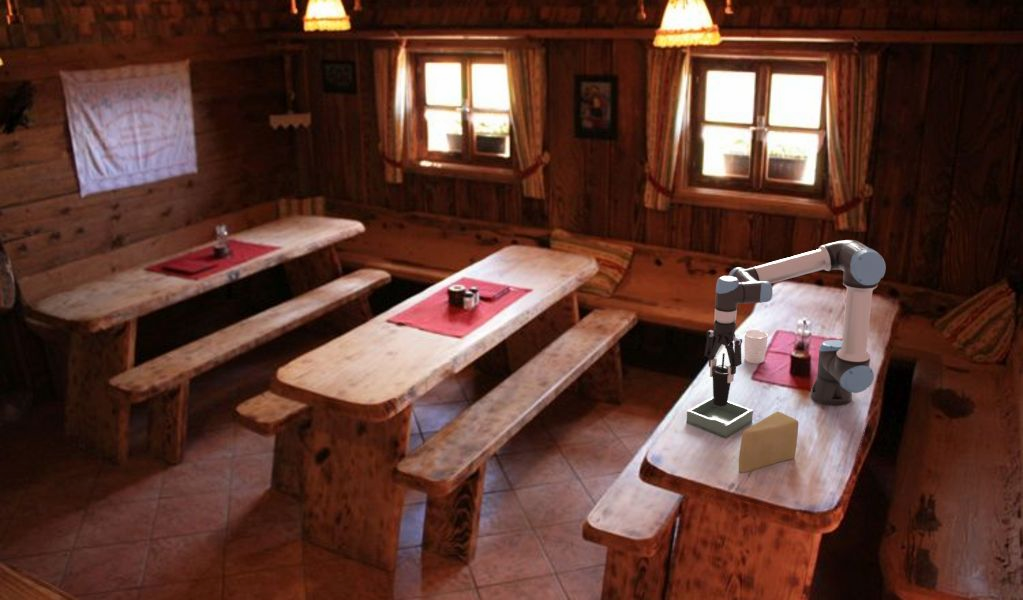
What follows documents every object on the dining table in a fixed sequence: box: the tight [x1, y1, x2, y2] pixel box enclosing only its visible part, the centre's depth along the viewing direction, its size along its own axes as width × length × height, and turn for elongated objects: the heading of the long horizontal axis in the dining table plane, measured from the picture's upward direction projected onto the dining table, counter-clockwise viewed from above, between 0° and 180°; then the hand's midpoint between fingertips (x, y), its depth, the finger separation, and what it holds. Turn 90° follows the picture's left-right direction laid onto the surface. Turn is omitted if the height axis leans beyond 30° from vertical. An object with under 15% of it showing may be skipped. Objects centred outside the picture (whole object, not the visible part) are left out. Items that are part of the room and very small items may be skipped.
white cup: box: [744, 329, 769, 364], centre depth 377 cm, size 10×10×12 cm
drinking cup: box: [712, 352, 732, 406], centre depth 321 cm, size 8×8×20 cm
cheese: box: [738, 411, 799, 474], centre depth 297 cm, size 22×10×15 cm, turn 122°
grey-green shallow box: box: [686, 396, 754, 439], centre depth 326 cm, size 17×17×5 cm
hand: (721, 378), depth 321 cm, fingers closed on drinking cup, 7 cm apart
